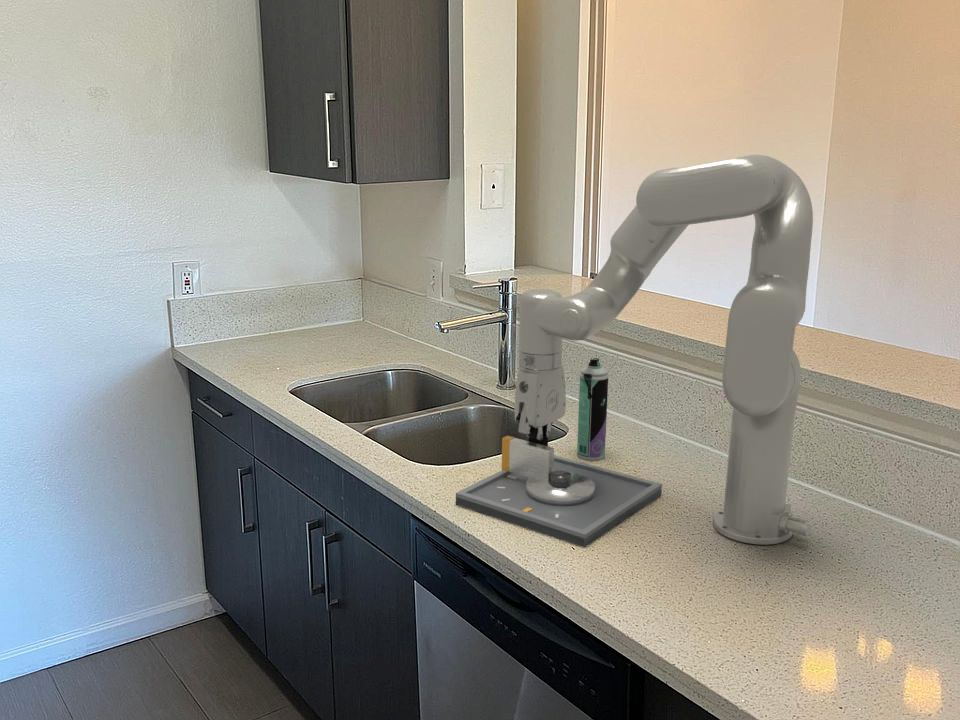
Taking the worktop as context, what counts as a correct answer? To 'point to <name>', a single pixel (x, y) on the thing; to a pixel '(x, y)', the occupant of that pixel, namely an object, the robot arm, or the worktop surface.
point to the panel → (568, 523)
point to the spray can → (592, 411)
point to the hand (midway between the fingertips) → (537, 457)
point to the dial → (544, 474)
